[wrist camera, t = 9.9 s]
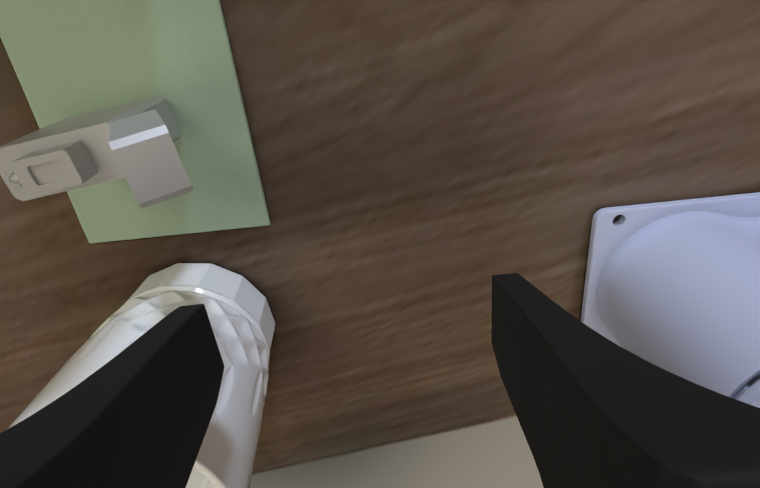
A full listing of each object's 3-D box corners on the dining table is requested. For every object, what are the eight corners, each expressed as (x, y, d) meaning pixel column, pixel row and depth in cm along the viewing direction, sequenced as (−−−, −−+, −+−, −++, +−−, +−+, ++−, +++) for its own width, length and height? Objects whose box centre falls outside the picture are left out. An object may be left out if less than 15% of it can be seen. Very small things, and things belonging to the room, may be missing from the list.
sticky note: (210, -41, 17) (208, -41, 16) (270, 223, 21) (269, 225, 21) (-18, -14, 17) (-23, -15, 17) (91, 241, 21) (89, 243, 21)
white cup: (320, 331, 24) (294, 531, 15) (208, 404, 26) (127, 617, 17) (202, 216, 21) (82, 382, 12) (85, 309, 23) (-90, 509, 14)
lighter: (85, 160, 19) (-76, 259, 12) (62, 118, 19) (-123, 198, 12) (254, 121, 19) (187, 200, 12) (238, 75, 18) (156, 131, 11)
